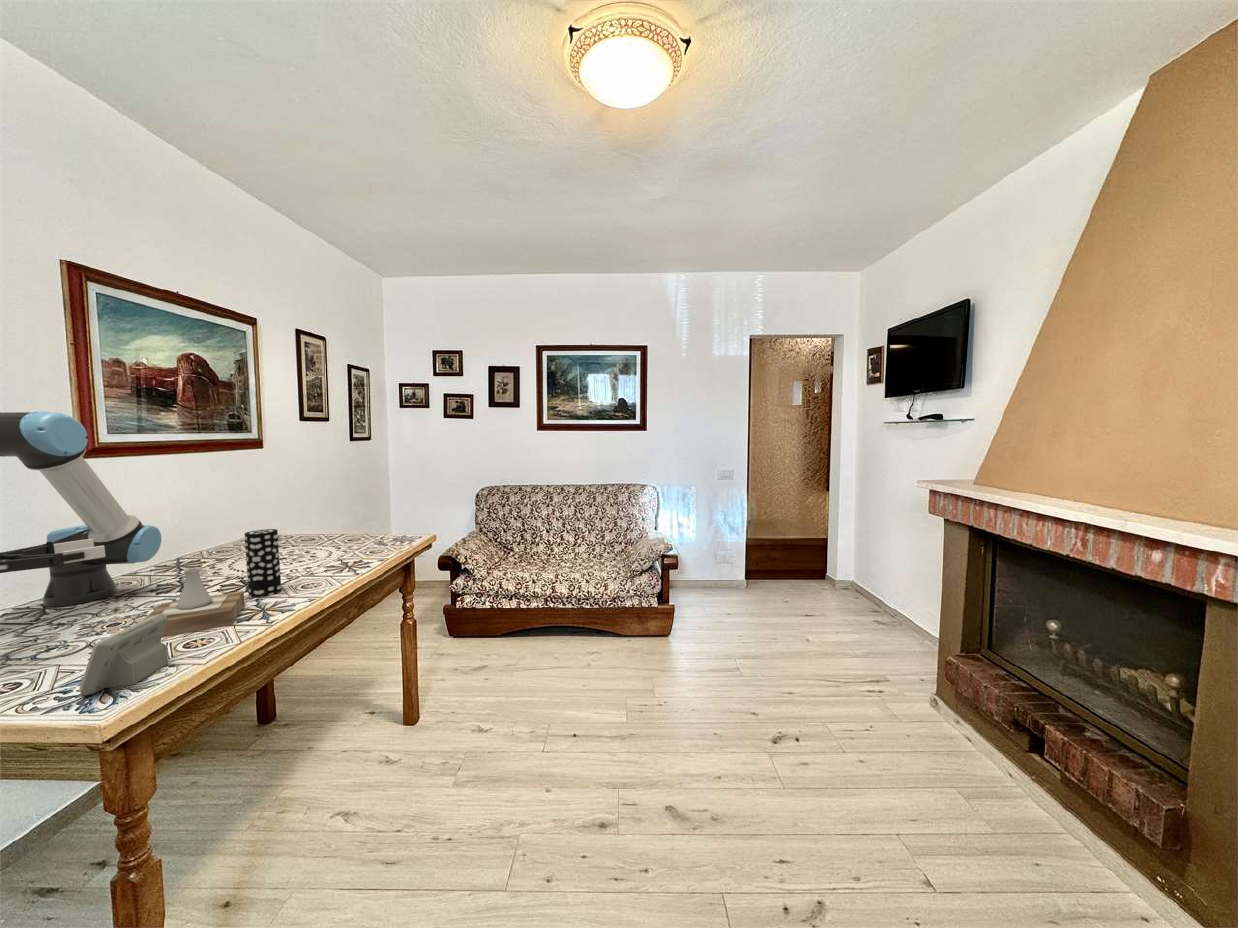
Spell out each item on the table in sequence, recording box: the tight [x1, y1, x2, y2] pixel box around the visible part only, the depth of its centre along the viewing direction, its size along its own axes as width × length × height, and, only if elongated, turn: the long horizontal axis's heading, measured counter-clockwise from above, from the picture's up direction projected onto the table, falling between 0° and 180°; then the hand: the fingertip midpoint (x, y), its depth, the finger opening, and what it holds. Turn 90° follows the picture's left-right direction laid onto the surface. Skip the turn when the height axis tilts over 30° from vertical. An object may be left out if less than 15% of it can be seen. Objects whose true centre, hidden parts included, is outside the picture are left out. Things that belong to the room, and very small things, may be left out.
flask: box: [176, 567, 213, 609], centre depth 125 cm, size 7×7×10 cm
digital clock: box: [79, 614, 169, 696], centre depth 96 cm, size 16×9×11 cm, turn 178°
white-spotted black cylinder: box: [244, 528, 282, 598], centre depth 147 cm, size 8×8×20 cm
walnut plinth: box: [140, 590, 245, 638], centre depth 126 cm, size 18×18×4 cm
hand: (99, 547), depth 116 cm, fingers open, 13 cm apart
